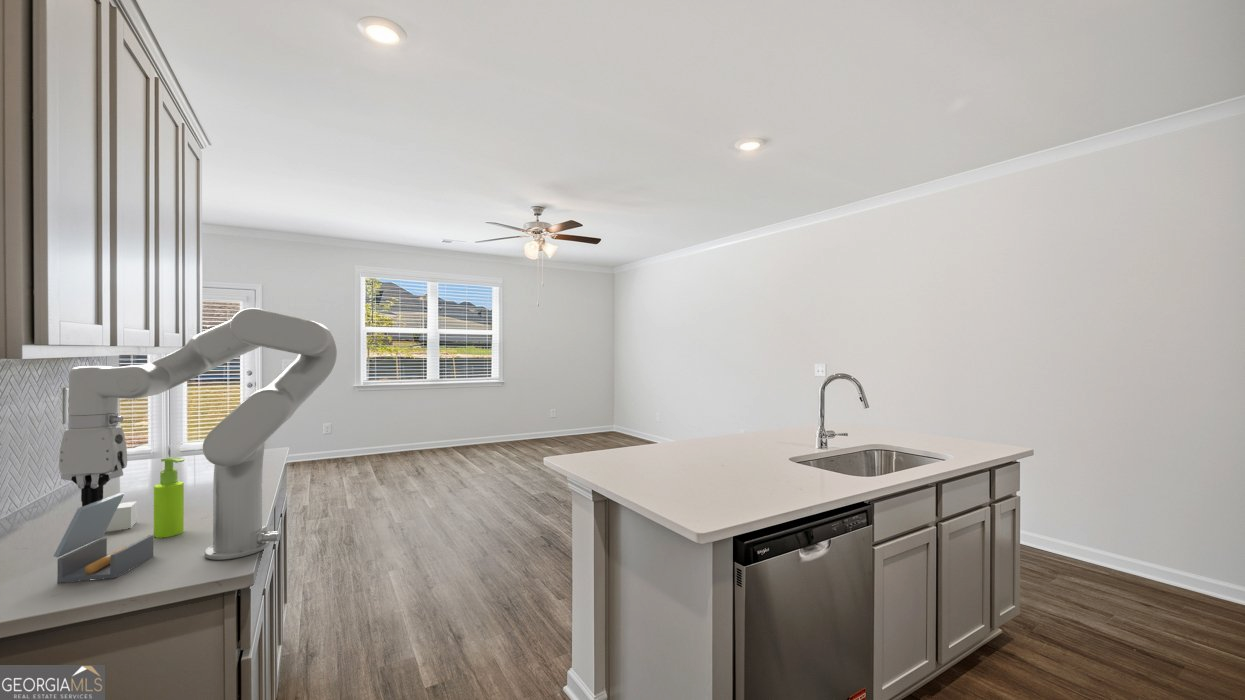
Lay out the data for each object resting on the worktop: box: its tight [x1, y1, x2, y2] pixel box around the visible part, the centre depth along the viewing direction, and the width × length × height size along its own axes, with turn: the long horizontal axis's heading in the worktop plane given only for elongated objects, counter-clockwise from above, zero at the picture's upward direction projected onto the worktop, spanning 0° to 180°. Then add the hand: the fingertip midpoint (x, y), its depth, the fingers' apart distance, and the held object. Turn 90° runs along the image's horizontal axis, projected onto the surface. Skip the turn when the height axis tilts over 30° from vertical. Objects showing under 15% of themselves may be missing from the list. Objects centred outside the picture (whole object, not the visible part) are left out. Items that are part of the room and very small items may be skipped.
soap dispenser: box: [153, 457, 185, 539], centre depth 134 cm, size 6×7×20 cm
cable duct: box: [56, 534, 154, 584], centre depth 113 cm, size 10×12×5 cm
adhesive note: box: [105, 500, 138, 533], centre depth 139 cm, size 6×6×6 cm
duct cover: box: [53, 492, 125, 559], centre depth 112 cm, size 11×12×1 cm
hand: (92, 505), depth 112 cm, fingers closed
